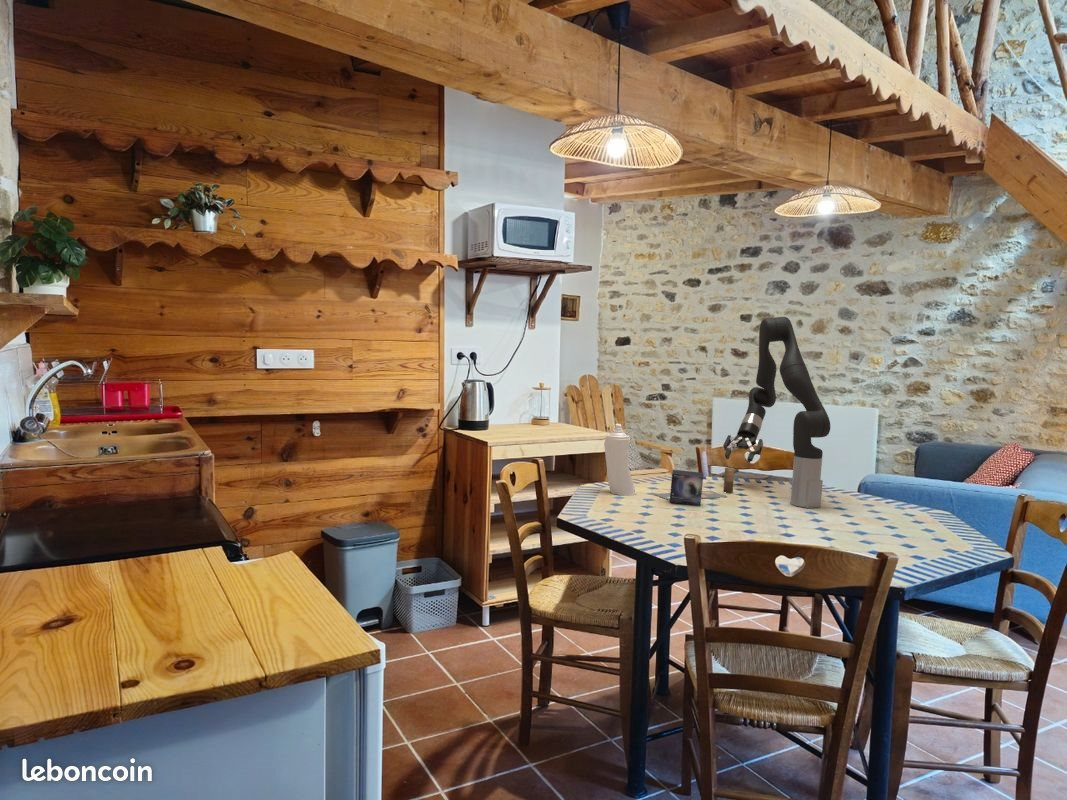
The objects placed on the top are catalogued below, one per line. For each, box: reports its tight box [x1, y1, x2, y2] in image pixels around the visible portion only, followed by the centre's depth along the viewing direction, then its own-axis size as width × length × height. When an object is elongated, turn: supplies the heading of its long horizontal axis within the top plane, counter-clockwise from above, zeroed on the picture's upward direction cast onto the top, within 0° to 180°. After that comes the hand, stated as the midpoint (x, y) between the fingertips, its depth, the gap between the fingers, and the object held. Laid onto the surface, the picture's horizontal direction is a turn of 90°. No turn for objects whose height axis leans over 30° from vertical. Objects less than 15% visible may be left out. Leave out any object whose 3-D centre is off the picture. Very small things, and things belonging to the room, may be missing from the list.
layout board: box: [653, 490, 728, 502], centre depth 253 cm, size 10×25×1 cm, turn 113°
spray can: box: [603, 423, 637, 497], centre depth 253 cm, size 12×11×25 cm
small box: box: [669, 469, 704, 507], centre depth 241 cm, size 11×6×10 cm, turn 77°
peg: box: [722, 467, 735, 494], centre depth 262 cm, size 3×3×9 cm
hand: (737, 459), depth 267 cm, fingers open, 8 cm apart
